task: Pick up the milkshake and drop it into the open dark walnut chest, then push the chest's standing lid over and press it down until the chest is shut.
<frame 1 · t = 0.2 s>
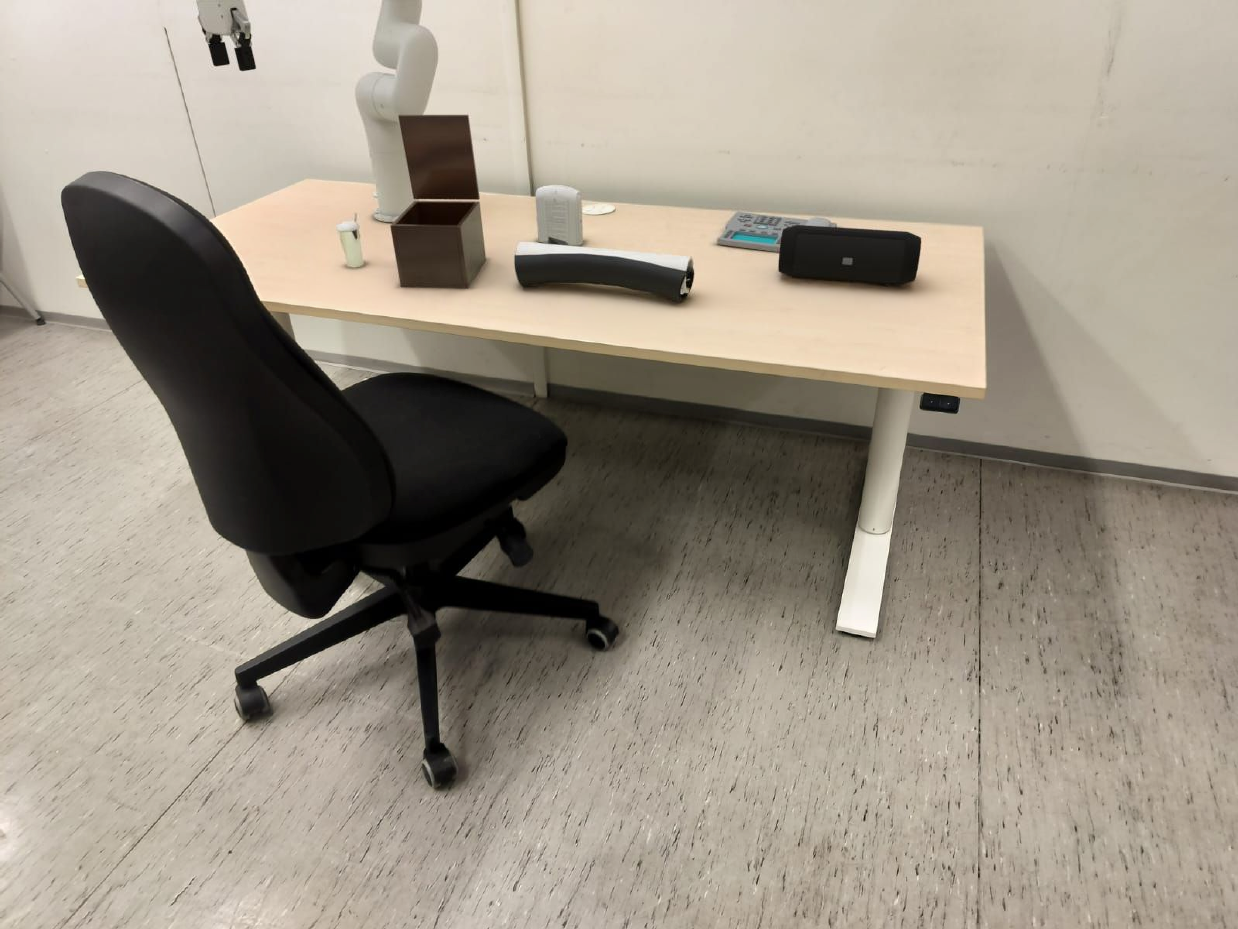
hand: (234, 67, 165), 37 cm above the table, tool pointing down, fingers open, 9 cm apart
lid: (440, 158, 168), point 21 cm above the table, hinge at 85.0°
chest: (444, 272, 173), on the table
office telephone: (775, 236, 188), on the table
portable speaker: (844, 280, 166), on the table
milkshake: (357, 265, 179), on the table
curved black white bar: (607, 286, 166), on the table
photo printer: (561, 243, 187), on the table
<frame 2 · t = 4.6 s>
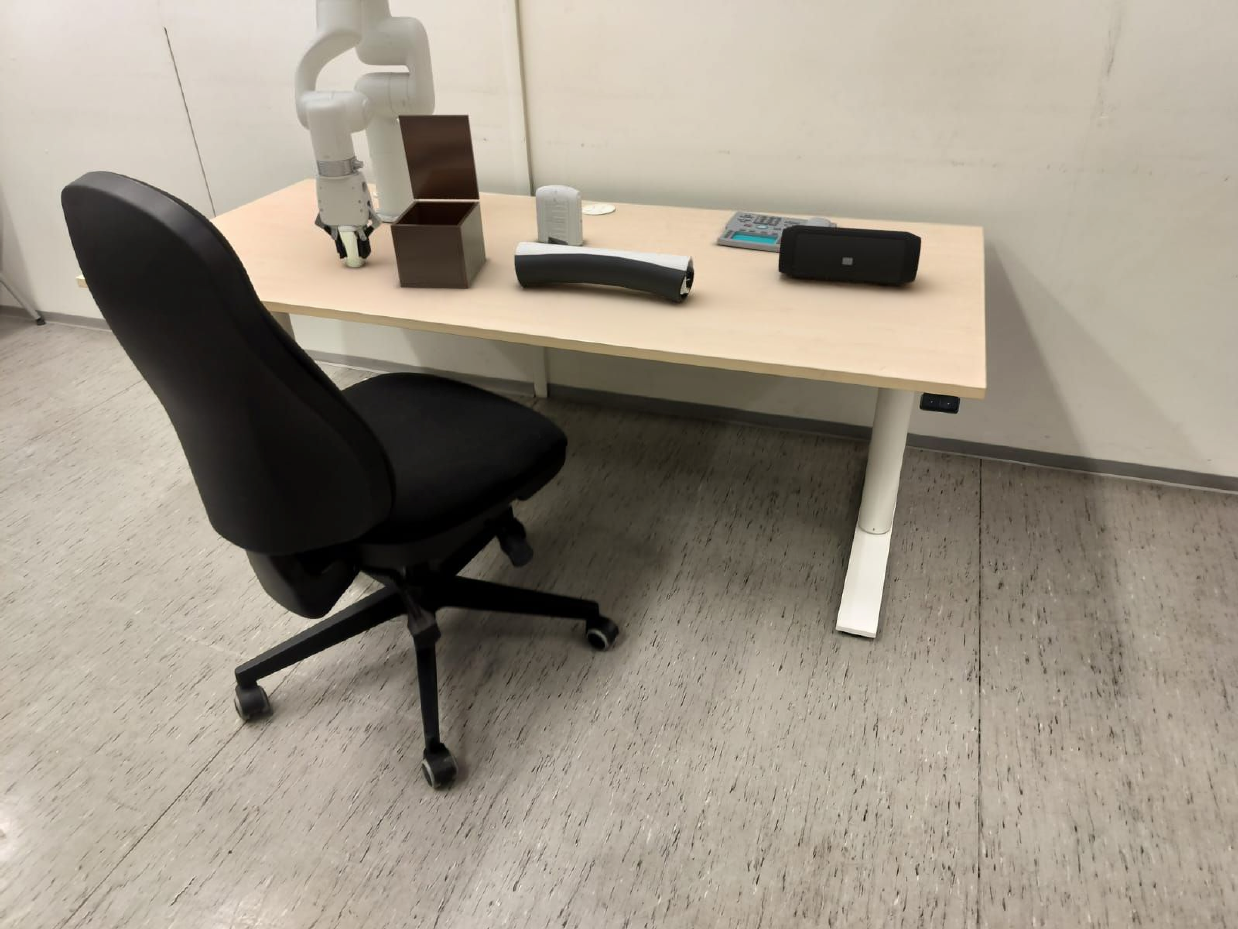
hand: (355, 255, 177), 2 cm above the table, tool pointing down, fingers closed on milkshake, 4 cm apart
milkshake: (357, 264, 179), on the table, touching gripper
everything else where it was.
when the fingers open (10 cm above the table, at t = 14.1 s): milkshake drops 6 cm, resting on chest.
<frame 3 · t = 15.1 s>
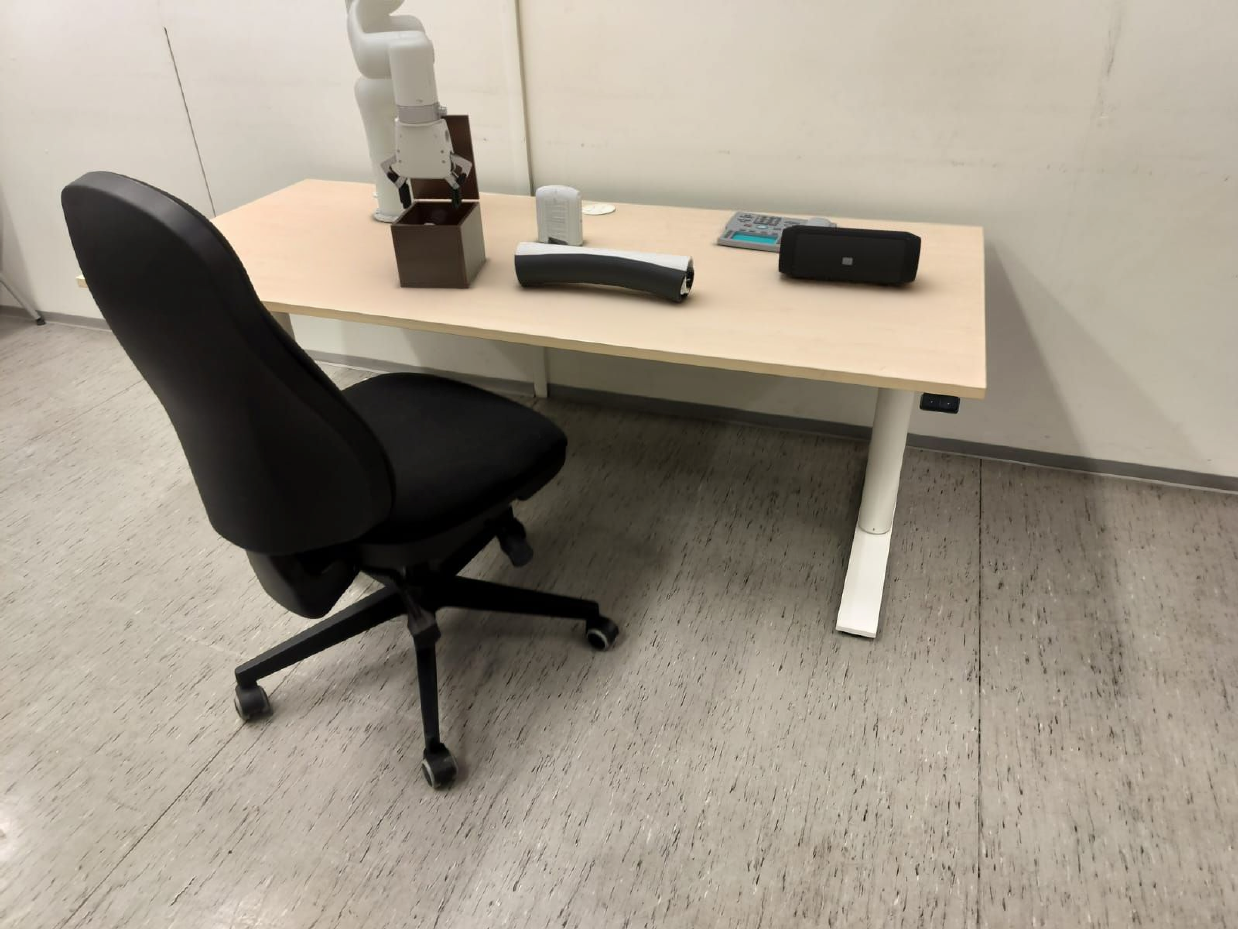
hand: (432, 207, 164), 14 cm above the table, tool pointing down, fingers open, 9 cm apart
milkshake: (441, 267, 171), point 2 cm above the table, touching chest
everything else where it was.
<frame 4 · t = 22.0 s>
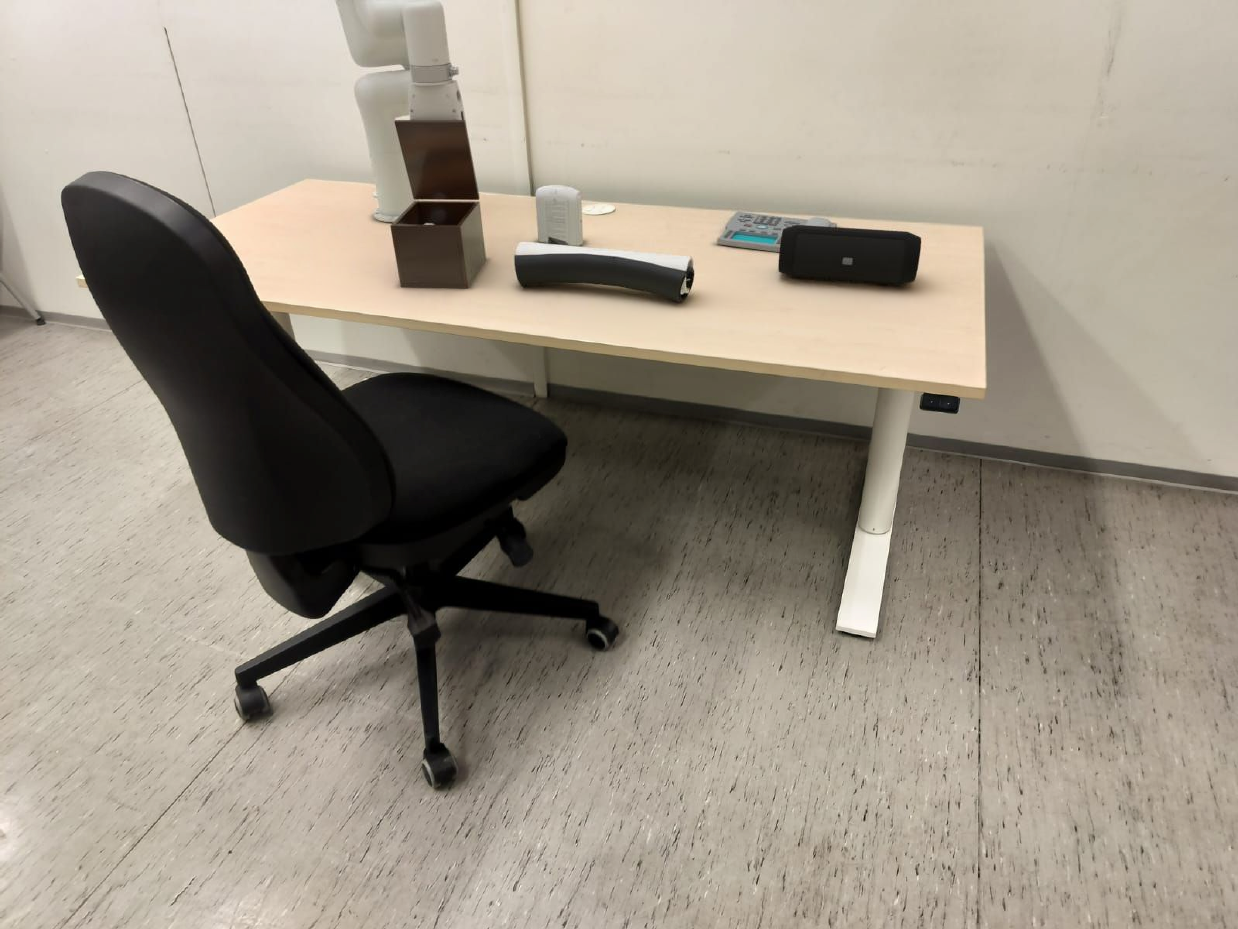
hand: (444, 173, 171), 18 cm above the table, tool pointing down, fingers closed
lid: (438, 161, 167), point 21 cm above the table, hinge at 75.5°, touching gripper
everything else where it was.
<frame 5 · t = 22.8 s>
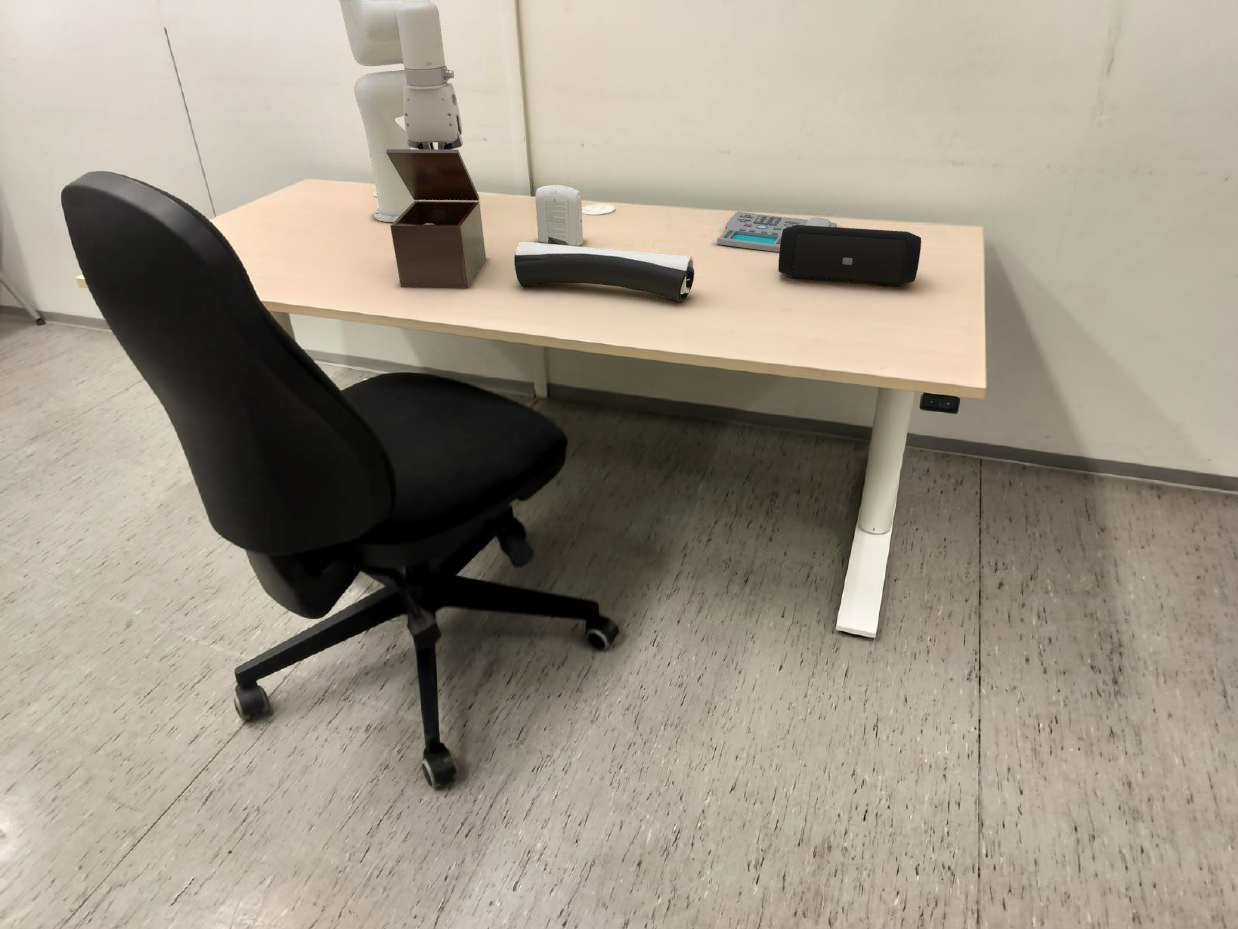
hand: (439, 177, 168), 18 cm above the table, tool pointing down, fingers closed
lid: (434, 175, 165), point 19 cm above the table, hinge at 47.4°, touching gripper
everything else where it was.
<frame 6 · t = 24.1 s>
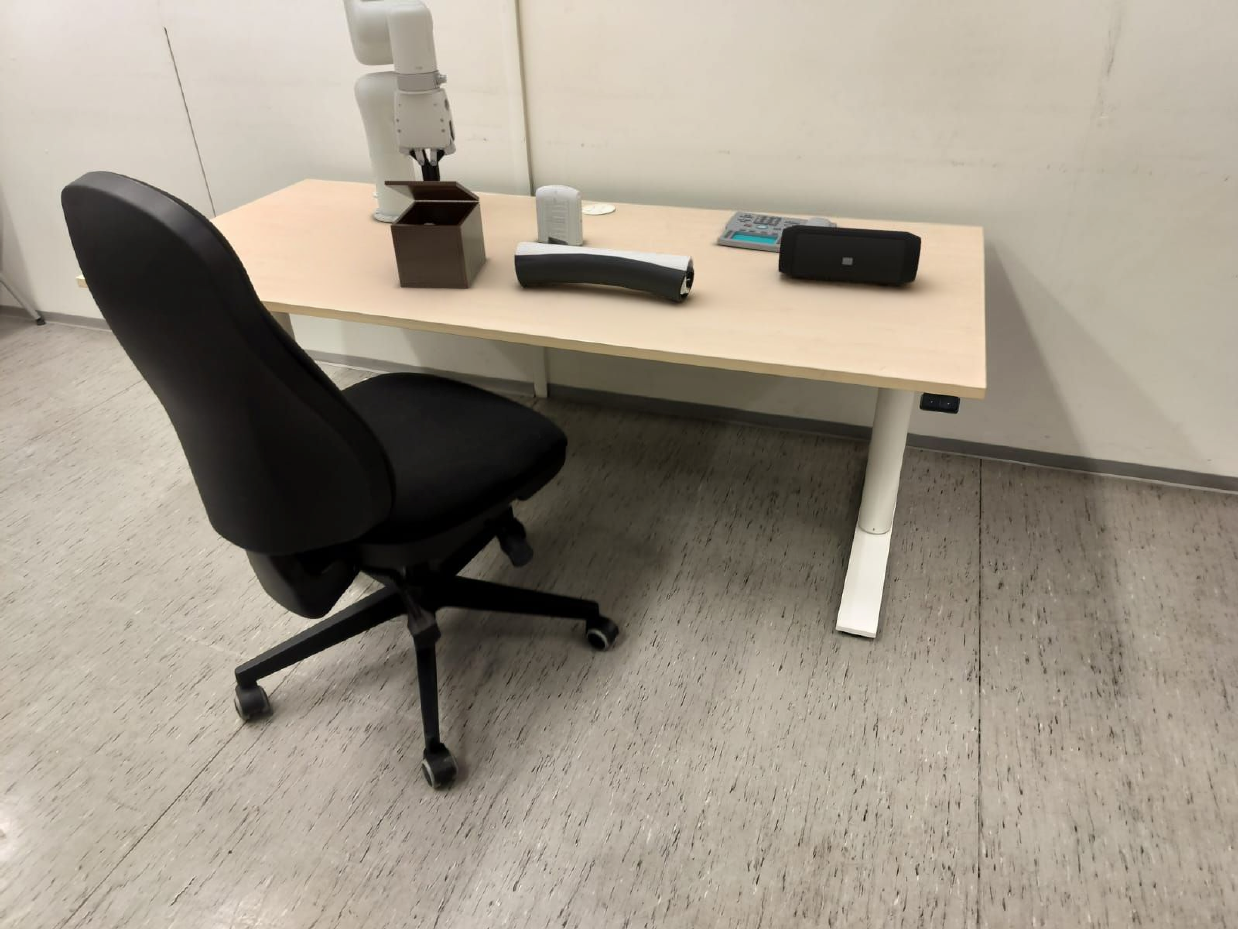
hand: (432, 184, 164), 18 cm above the table, tool pointing down, fingers closed
lid: (434, 191, 165), point 16 cm above the table, hinge at 26.2°, touching gripper
everything else where it was.
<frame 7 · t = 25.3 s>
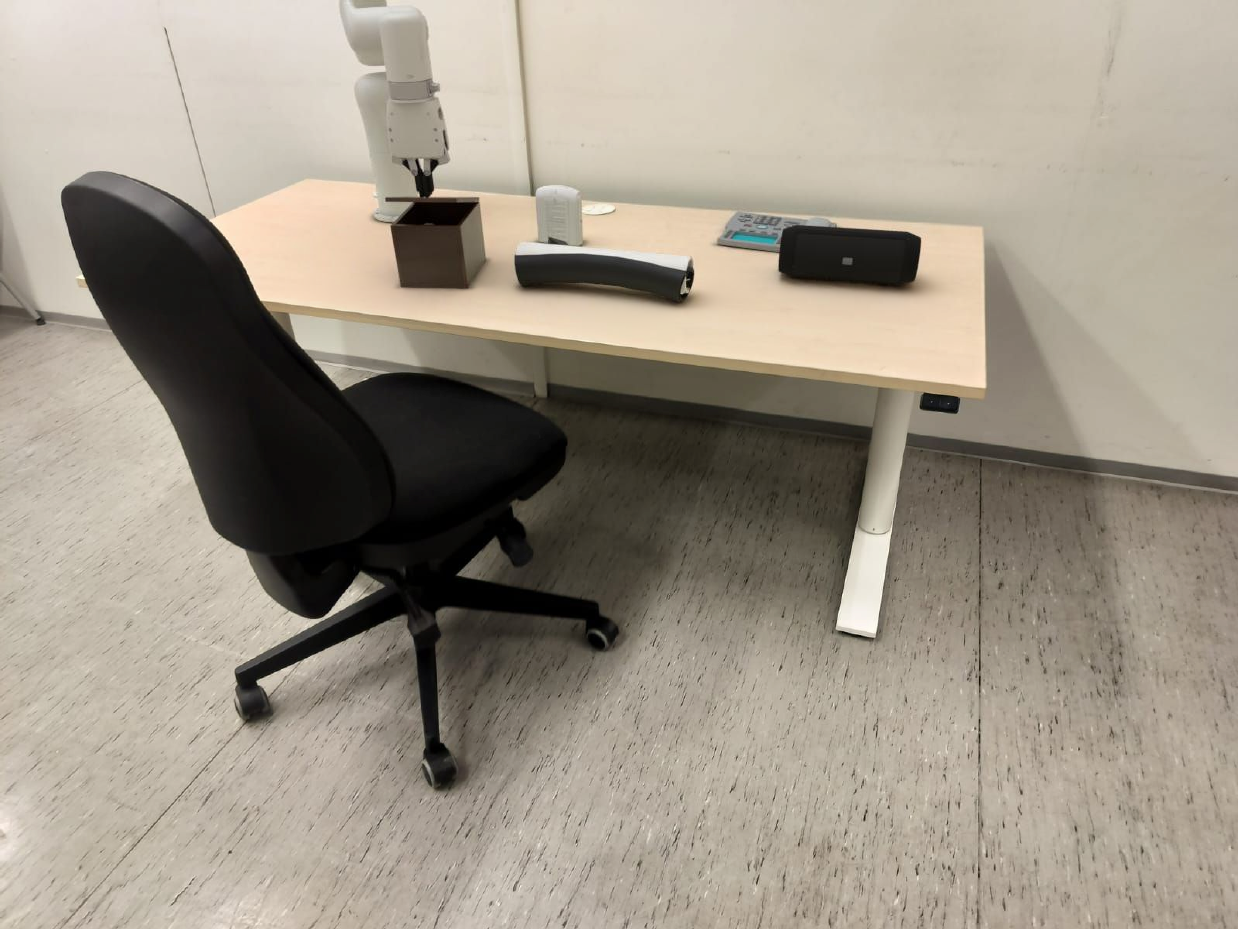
hand: (426, 195, 160), 17 cm above the table, tool pointing down, fingers closed
lid: (434, 199, 165), point 15 cm above the table, hinge at 15.9°, touching gripper
everything else where it was.
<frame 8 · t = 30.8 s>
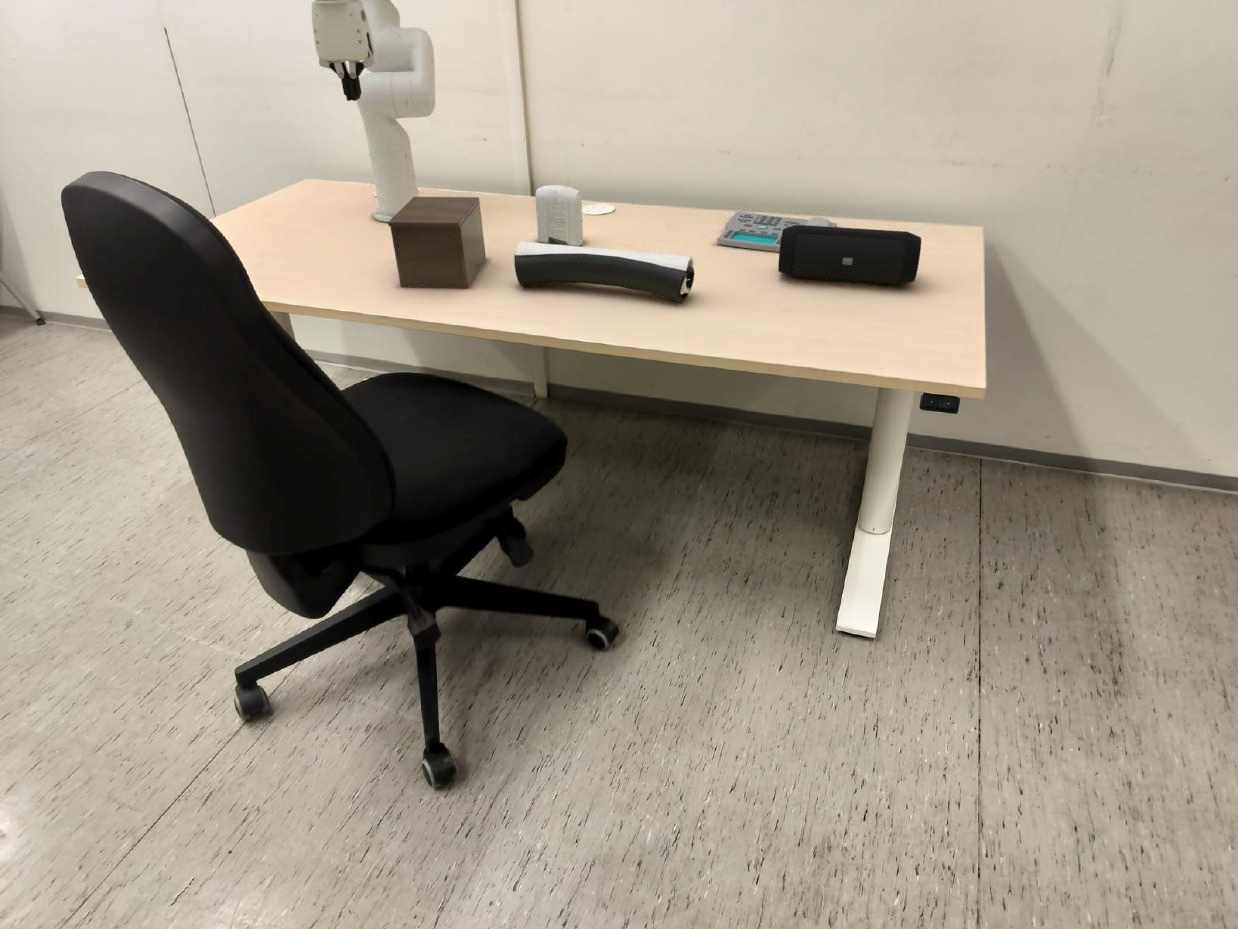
hand: (353, 99, 167), 31 cm above the table, tool pointing down, fingers closed
lid: (435, 211, 166), point 13 cm above the table, hinge at 0.3°
everything else where it was.
at the end: milkshake inside the target area in the chest (1.4 cm from its centre), point 1.7 cm above the chest's base; lid at +0° (first picture: +85°) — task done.
